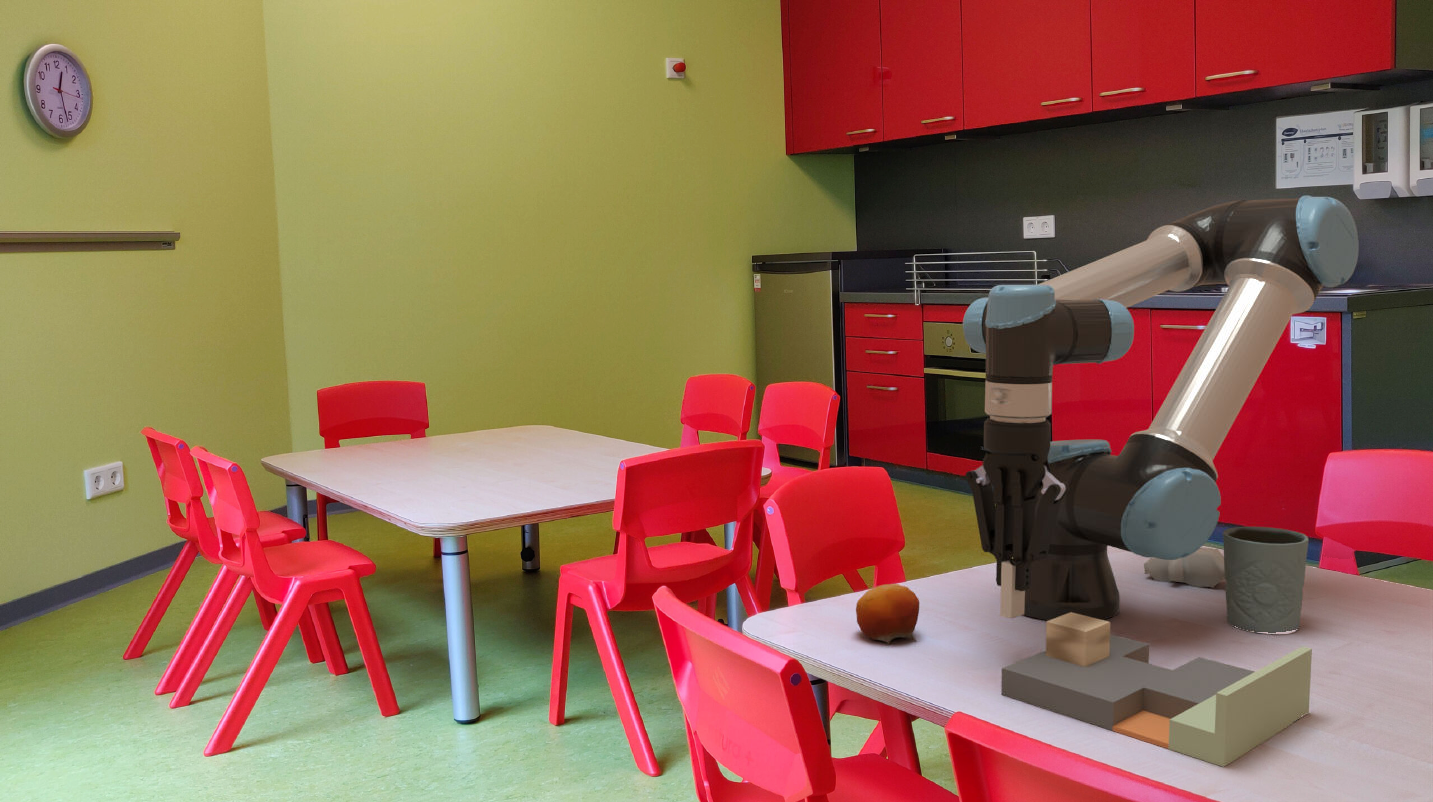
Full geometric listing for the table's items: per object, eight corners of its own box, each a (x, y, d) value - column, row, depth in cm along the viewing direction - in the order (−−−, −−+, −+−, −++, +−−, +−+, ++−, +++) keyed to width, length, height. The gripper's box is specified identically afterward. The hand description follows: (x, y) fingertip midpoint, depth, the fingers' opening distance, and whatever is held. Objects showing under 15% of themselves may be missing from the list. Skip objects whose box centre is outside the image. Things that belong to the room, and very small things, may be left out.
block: (1045, 655, 131) (1046, 621, 130) (1070, 645, 134) (1071, 612, 134) (1085, 666, 127) (1086, 631, 127) (1109, 656, 130) (1110, 621, 130)
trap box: (1001, 694, 127) (1002, 633, 127) (1094, 654, 140) (1095, 598, 139) (1223, 766, 109) (1226, 695, 108) (1308, 713, 121) (1311, 648, 120)
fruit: (889, 643, 140) (870, 581, 143) (858, 659, 147) (840, 599, 150) (942, 633, 144) (922, 572, 147) (909, 648, 150) (890, 590, 153)
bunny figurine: (1154, 543, 177) (1260, 545, 168) (1157, 576, 177) (1263, 579, 168) (1137, 557, 169) (1247, 559, 160) (1140, 591, 169) (1251, 595, 161)
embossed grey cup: (1265, 640, 144) (1269, 547, 142) (1201, 618, 153) (1205, 530, 151) (1322, 629, 148) (1327, 538, 146) (1257, 608, 157) (1261, 522, 155)
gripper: (952, 415, 136) (948, 608, 139) (1047, 426, 126) (1041, 634, 129) (990, 410, 141) (985, 597, 144) (1085, 420, 131) (1078, 621, 134)
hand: (1012, 614), depth 136 cm, fingers closed
